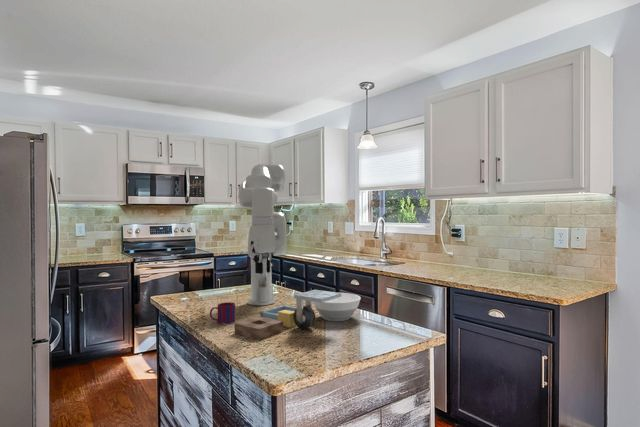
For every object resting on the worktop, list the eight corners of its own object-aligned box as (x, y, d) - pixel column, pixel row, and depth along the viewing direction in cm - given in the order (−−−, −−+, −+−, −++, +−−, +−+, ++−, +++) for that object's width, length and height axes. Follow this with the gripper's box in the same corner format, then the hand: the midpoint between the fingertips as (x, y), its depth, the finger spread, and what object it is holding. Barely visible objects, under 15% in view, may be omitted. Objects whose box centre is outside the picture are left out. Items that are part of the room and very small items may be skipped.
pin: (262, 285, 149) (262, 252, 149) (269, 286, 147) (269, 253, 147) (255, 286, 147) (255, 253, 146) (262, 288, 144) (262, 254, 144)
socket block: (259, 325, 152) (259, 316, 152) (283, 331, 145) (283, 321, 145) (234, 333, 142) (234, 323, 142) (258, 339, 135) (258, 329, 135)
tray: (283, 311, 174) (283, 305, 174) (303, 314, 167) (303, 308, 167) (260, 318, 163) (260, 311, 163) (280, 322, 156) (280, 315, 156)
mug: (237, 322, 157) (237, 304, 157) (212, 326, 151) (212, 308, 151) (232, 318, 162) (231, 301, 162) (206, 322, 157) (206, 304, 157)
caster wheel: (307, 322, 156) (307, 288, 156) (341, 329, 146) (341, 293, 146) (287, 329, 146) (286, 293, 146) (321, 337, 137) (321, 299, 137)
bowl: (370, 317, 163) (370, 296, 163) (339, 327, 149) (339, 305, 149) (334, 309, 176) (333, 290, 176) (301, 318, 162) (301, 297, 162)
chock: (284, 322, 156) (284, 309, 156) (296, 325, 153) (296, 311, 153) (277, 325, 153) (277, 311, 153) (289, 327, 149) (289, 314, 149)
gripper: (270, 221, 155) (271, 269, 156) (238, 222, 142) (238, 274, 143) (285, 221, 151) (285, 270, 151) (252, 222, 138) (253, 276, 138)
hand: (262, 272), depth 147 cm, fingers closed on pin, 3 cm apart
